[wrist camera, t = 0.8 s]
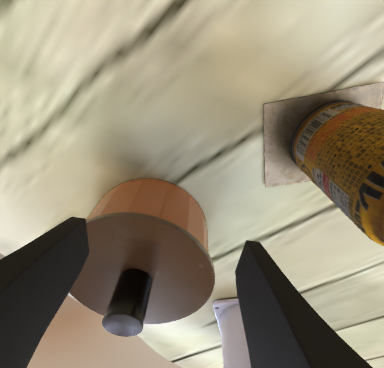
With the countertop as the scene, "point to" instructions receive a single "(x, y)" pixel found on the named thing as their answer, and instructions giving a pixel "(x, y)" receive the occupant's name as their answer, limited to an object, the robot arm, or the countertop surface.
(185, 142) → the countertop surface
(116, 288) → the pot lid
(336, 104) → the condiment
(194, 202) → the terracotta bowl
